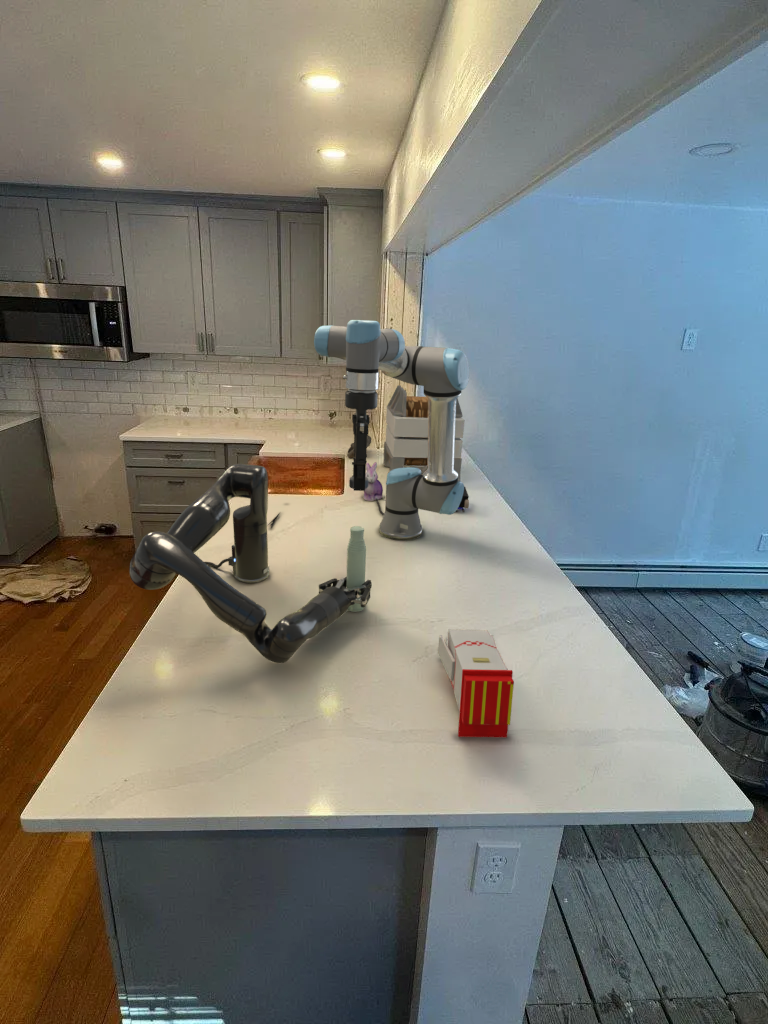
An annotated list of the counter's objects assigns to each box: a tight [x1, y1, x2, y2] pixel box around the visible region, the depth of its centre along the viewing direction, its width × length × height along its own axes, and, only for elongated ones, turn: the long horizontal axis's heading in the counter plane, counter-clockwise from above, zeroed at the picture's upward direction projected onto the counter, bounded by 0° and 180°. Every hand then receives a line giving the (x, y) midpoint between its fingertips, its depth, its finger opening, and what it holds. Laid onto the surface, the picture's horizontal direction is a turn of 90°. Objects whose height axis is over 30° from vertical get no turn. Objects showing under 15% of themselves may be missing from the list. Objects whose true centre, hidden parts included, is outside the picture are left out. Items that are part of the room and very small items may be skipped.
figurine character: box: [455, 486, 470, 513], centre depth 227 cm, size 7×8×15 cm
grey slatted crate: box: [383, 384, 465, 481], centre depth 268 cm, size 34×33×41 cm
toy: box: [437, 628, 515, 738], centre depth 117 cm, size 12×13×30 cm
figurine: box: [362, 461, 384, 502], centre depth 233 cm, size 9×10×15 cm
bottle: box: [346, 525, 367, 613], centre depth 146 cm, size 5×5×22 cm
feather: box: [267, 512, 281, 529], centre depth 211 cm, size 2×28×2 cm
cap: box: [348, 475, 369, 490], centre depth 138 cm, size 5×5×2 cm
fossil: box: [347, 434, 372, 459], centre depth 303 cm, size 22×10×15 cm
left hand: (360, 580), depth 150 cm, fingers closed on bottle, 4 cm apart
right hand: (358, 486), depth 139 cm, fingers closed on cap, 4 cm apart
